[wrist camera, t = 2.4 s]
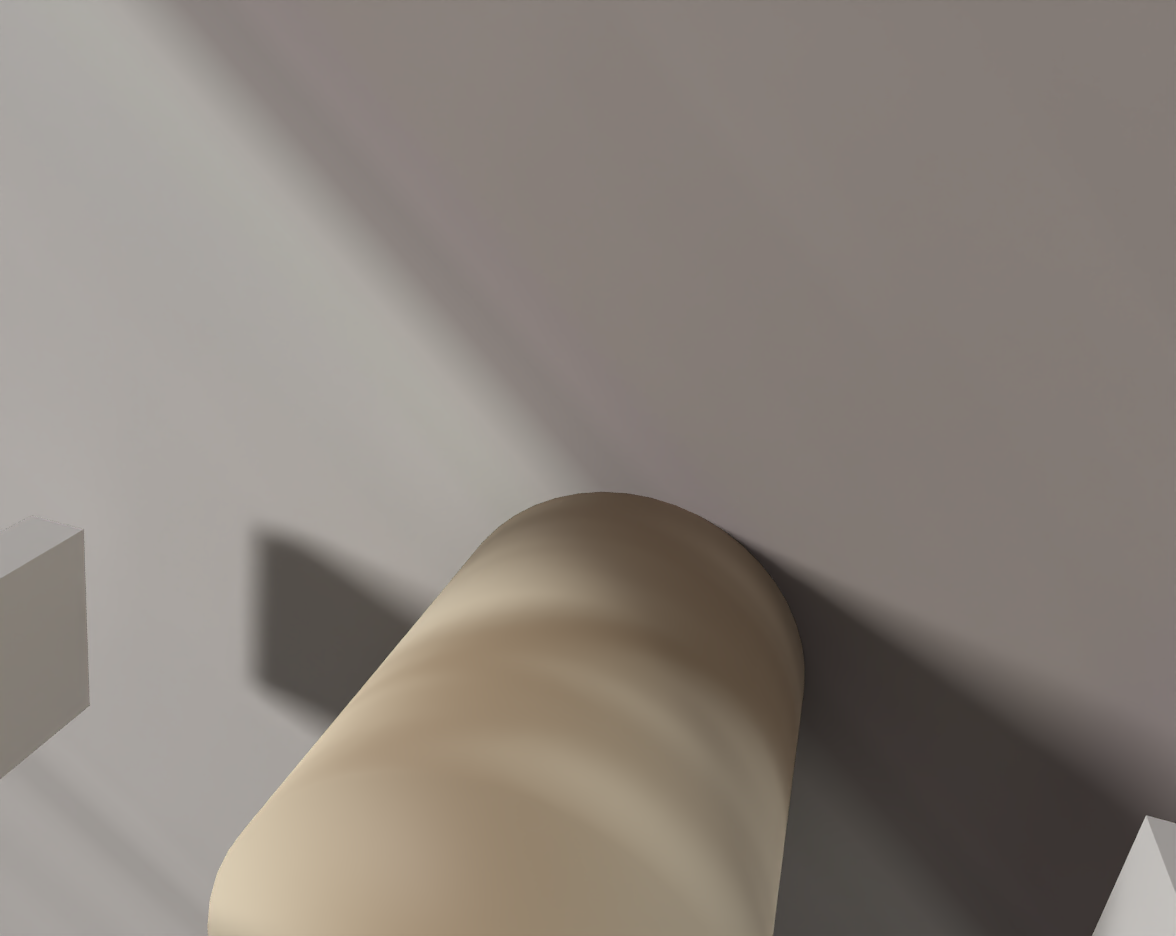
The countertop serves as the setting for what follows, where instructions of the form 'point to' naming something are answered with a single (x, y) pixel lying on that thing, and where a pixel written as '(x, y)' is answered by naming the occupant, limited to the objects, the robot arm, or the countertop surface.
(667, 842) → the oak cylinder
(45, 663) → the robot arm
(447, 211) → the countertop surface
